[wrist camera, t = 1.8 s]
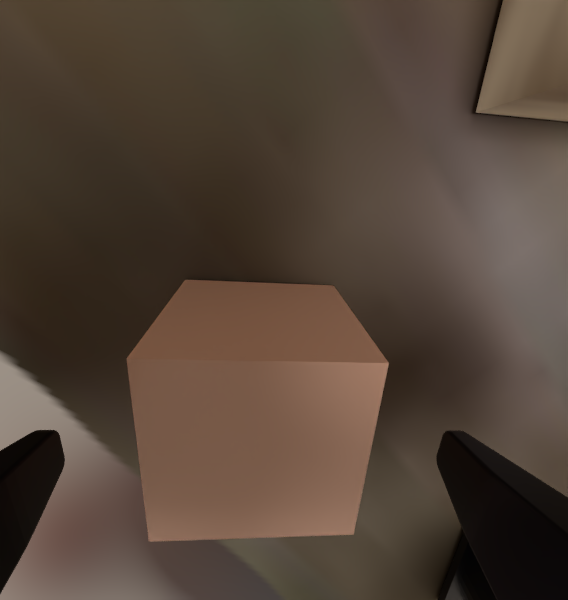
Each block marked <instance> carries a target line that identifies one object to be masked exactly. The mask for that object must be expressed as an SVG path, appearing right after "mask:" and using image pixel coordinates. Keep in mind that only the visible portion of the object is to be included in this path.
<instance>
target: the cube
mask: <svg viewBox="0 0 568 600" xmlns="http://www.w3.org/2000/svg"><path fill="white" fill-rule="evenodd" d="M388 365H389V362H388V361H387V360H386V358H385V357H384V356H383V354H382V353H381V351H380V350H379V349H378V347H377V346H376V344H375V343H374V342H373V340H372V339H371V337H370V336H369V335H368V333H367V332H366V330H365V329H364V328H363V326H362V325H361V323H360V322H359V321H358V319H357V318H356V316H355V315H354V314H353V312H352V311H351V309H350V308H349V307H348V305H347V304H346V302H345V301H344V300H343V298H342V297H341V295H340V294H339V293H338V291H337V290H336V288H335V287H334V286H333V285H309V284H284V283H259V282H233V281H208V280H185V281H184V282H183V283H182V285H181V286H180V287H179V289H178V290H177V291H176V293H175V294H174V295H173V297H172V298H171V299H170V301H169V302H168V303H167V305H166V306H165V307H164V309H163V310H162V312H161V313H160V314H159V316H158V317H157V318H156V320H155V321H154V322H153V324H152V325H151V326H150V328H149V329H148V330H147V332H146V333H145V334H144V336H143V337H142V338H141V340H140V341H139V343H138V344H137V345H136V347H135V348H134V349H133V351H132V352H131V353H130V355H129V356H128V357H127V367H128V375H129V383H130V392H131V400H132V408H133V416H134V424H135V432H136V440H137V448H138V457H139V465H140V473H141V481H142V489H143V497H144V505H145V513H146V521H147V530H148V538H149V542H151V541H180V540H181V541H182V540H209V539H239V538H267V537H296V536H325V535H353V534H354V530H355V525H356V520H357V515H358V510H359V506H360V501H361V496H362V491H363V486H364V481H365V476H366V472H367V467H368V462H369V457H370V452H371V447H372V443H373V438H374V433H375V428H376V423H377V418H378V414H379V409H380V404H381V399H382V394H383V389H384V384H385V380H386V375H387V370H388Z"/></svg>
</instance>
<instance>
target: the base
mask: <svg viewBox="0 0 568 600" xmlns="http://www.w3.org/2000/svg"><path fill="white" fill-rule="evenodd" d="M476 113H485V114H495V115H506V116H516V117H526V118H536V119H547V120H557V121H567V122H568V0H503V3H502V7H501V11H500V15H499V19H498V23H497V27H496V31H495V35H494V40H493V44H492V48H491V52H490V56H489V60H488V64H487V68H486V72H485V76H484V81H483V85H482V89H481V93H480V97H479V101H478V105H477V109H476Z"/></svg>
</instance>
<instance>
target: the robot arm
mask: <svg viewBox="0 0 568 600" xmlns="http://www.w3.org/2000/svg"><path fill="white" fill-rule="evenodd" d="M64 461H65V458H64V453H63V448H62V444H61V440H60V435H59V433H58V432H57V431H55V430H37V431H34V432H32V433H30V434H28V435H27V436H25V437H23V438H22V439H20V440H18V441H16V442H15V443H13V444H11V445H9V446H8V447H6V448H4V449H2V450H1V451H0V594H1V592H2V590H3V588H4V586H5V585H6V583H7V581H8V579H9V578H10V576H11V574H12V572H13V570H14V569H15V567H16V565H17V564H18V562H19V560H20V558H21V556H22V554H23V553H24V551H25V549H26V547H27V545H28V543H29V541H30V539H31V537H32V535H33V533H34V531H35V529H36V526H37V524H38V522H39V520H40V518H41V516H42V513H43V511H44V509H45V507H46V505H47V502H48V500H49V498H50V496H51V494H52V492H53V489H54V487H55V485H56V483H57V481H58V479H59V476H60V474H61V472H62V470H63V467H64ZM437 465H438V468H439V471H440V473H441V476H442V478H443V481H444V483H445V486H446V489H447V491H448V494H449V496H450V499H451V501H452V504H453V506H454V509H455V511H456V514H457V516H458V519H459V522H460V524H461V526H462V529H463V531H464V534H463V536H462V539H461V541H460V544H459V546H458V549H457V551H456V554H455V557H454V559H453V562H452V564H451V567H450V569H449V572H448V575H447V577H446V580H445V582H444V585H443V587H442V590H441V592H440V595H439V598H438V600H568V497H566V496H565V495H563V494H561V493H560V492H558V491H557V490H555V489H554V488H552V487H550V486H549V485H547V484H546V483H544V482H543V481H541V480H539V479H538V478H536V477H535V476H533V475H532V474H530V473H528V472H527V471H525V470H524V469H522V468H521V467H519V466H517V465H516V464H514V463H513V462H511V461H510V460H508V459H506V458H505V457H503V456H502V455H500V454H499V453H497V452H495V451H494V450H492V449H491V448H489V447H488V446H486V445H484V444H483V443H481V442H480V441H478V440H477V439H475V438H473V437H472V436H470V435H469V434H467V433H466V432H464V431H446V432H445V433H444V434H443V436H442V440H441V443H440V446H439V450H438V453H437Z"/></svg>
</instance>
